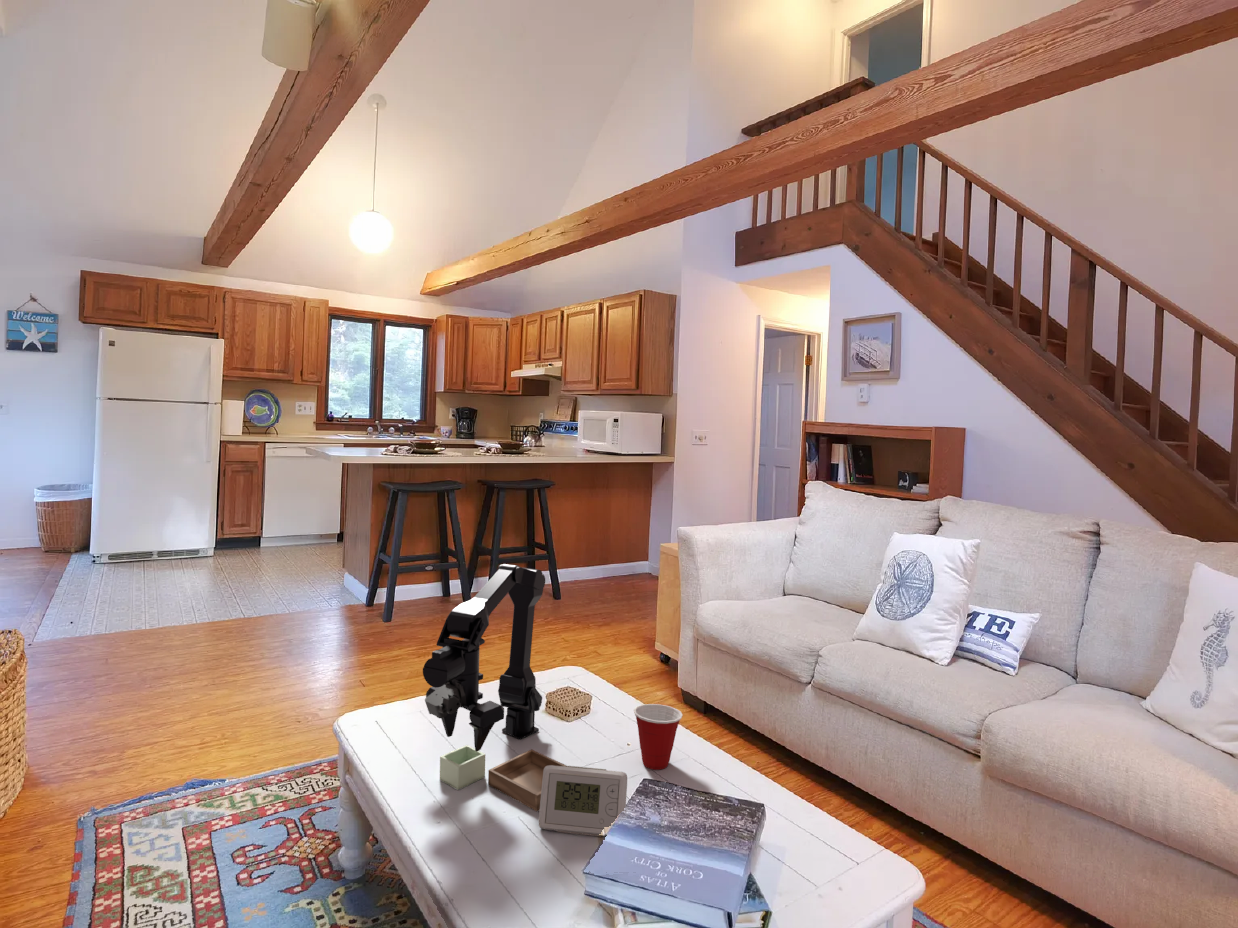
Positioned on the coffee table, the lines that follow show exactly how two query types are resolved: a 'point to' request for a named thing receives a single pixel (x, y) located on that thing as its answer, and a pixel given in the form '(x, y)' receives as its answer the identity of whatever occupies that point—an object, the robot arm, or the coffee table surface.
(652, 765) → the plastic cup
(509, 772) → the big crate
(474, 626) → the robot arm
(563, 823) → the digital clock
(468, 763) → the small crate
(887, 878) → the coffee table surface
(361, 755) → the coffee table surface
